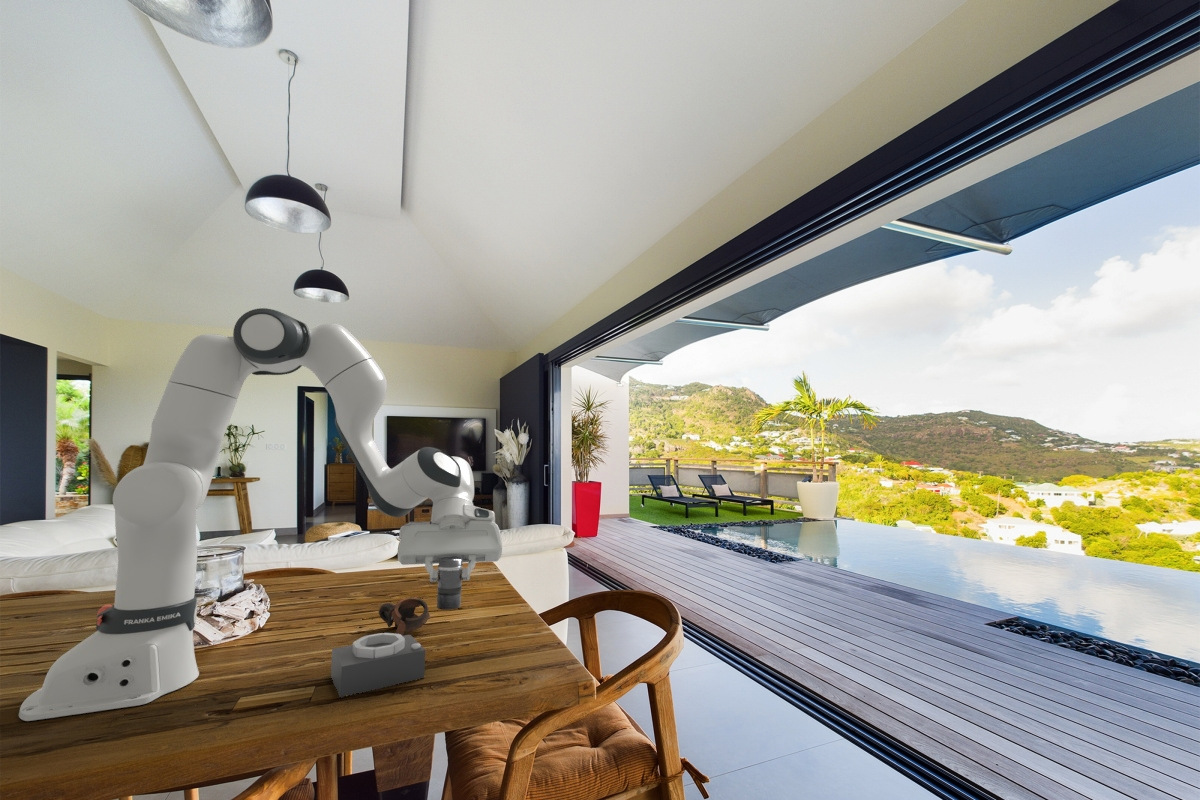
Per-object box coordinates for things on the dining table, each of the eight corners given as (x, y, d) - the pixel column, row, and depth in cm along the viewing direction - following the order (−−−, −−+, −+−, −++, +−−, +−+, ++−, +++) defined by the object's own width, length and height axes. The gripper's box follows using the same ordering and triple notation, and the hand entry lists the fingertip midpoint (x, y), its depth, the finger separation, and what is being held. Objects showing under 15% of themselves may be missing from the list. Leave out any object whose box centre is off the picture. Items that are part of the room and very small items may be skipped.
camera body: (340, 697, 89) (342, 657, 90) (330, 677, 98) (332, 640, 98) (424, 678, 97) (425, 641, 98) (409, 660, 105) (410, 626, 106)
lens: (440, 611, 100) (443, 561, 101) (433, 605, 103) (435, 557, 104) (464, 607, 102) (466, 559, 103) (456, 602, 106) (458, 555, 107)
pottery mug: (432, 624, 129) (437, 598, 127) (417, 655, 121) (422, 628, 118) (384, 612, 129) (388, 585, 126) (365, 642, 120) (369, 614, 117)
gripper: (400, 512, 109) (391, 572, 98) (501, 511, 114) (504, 567, 103) (401, 531, 113) (393, 591, 102) (499, 529, 118) (501, 586, 107)
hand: (449, 579), depth 103 cm, fingers closed on lens, 5 cm apart
